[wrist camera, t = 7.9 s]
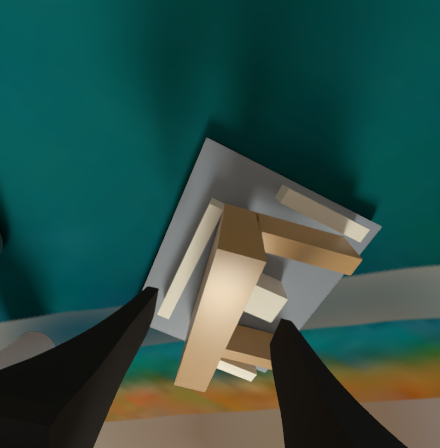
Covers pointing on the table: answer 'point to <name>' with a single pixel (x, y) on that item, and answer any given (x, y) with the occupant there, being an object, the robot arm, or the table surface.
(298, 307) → the stand
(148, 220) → the table surface
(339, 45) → the table surface
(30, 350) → the smoothie
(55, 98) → the table surface
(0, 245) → the plastic bottle
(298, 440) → the robot arm
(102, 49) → the table surface
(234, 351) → the wooden c-shaped bracket
